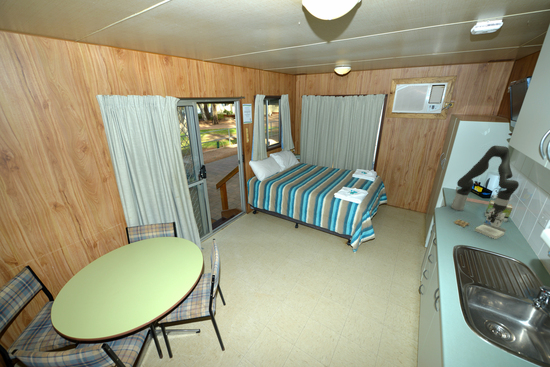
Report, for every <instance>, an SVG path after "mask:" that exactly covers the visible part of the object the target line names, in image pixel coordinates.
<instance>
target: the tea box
mask: <svg viewBox="0 0 550 367" xmlns="http://www.w3.org/2000/svg"><path fill="white" fill-rule="evenodd" d="M494 202H495V200H491V199H490V200H489V203H488V205H487V207H486V209H485V212H484V217H485V216H486V218H487V216H488V214H489V211H490V210H495V208H493V205H494ZM512 211H513V204H510V203H508V205H507V207H506V210H504V211H503V212H502V213H504V214H505V216H504V219H503V221H502V222H505V223H507V222H508V220H509V217H510V215H511V213H512Z"/></svg>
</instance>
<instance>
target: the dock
mask: <svg viewBox="0 0 550 367" xmlns="http://www.w3.org/2000/svg"><path fill="white" fill-rule="evenodd" d="M474 231H475V232H477V233H479V234H481V233H482V234H481V235H484V234H485V235H484V236H486V235H487V236H486V237H488V236H489V238H491V237H492V238H491V239H493V238H494V239H493V240H497V239H499V238H501V237H502V236H504V235H505V233H506V231H507V228H504V227H501V226H499V227H495V226H492V225H490V224H487V223H485V221H484V222H483V224H481V225H478V226H477V227H475V229H474Z"/></svg>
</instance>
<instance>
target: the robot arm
mask: <svg viewBox="0 0 550 367" xmlns="http://www.w3.org/2000/svg"><path fill="white" fill-rule="evenodd" d="M492 158H500V160H501V162H500V164H499V166H498V169H497V170H498V171H497V172H498V175H499V180H498V187H500V188H501V189H504V190H499V191H498V193H497V196H496V197H495V199H494V201H495V202H494V205H493V208H495V210H494V211H493V212H492V213H491V217H490V218H491V221H490V222H492V223H494V221H495V219H496V217H497V216H498V214H500V213H502V212H503V211H504V210H506V207H507V205H508V204H510V203H509V202H510V199H511V196H512V195H513V194H514V193H515V191H516V190H518V188H519V186H520V183H519V182H518V181H517V180H513V179H512V178H513V172H512V169H511V168H512V167H511V162H510V159H511V158H510V150H509V148H508V146H504V145H492V146H491V147H490V148H488V150H486V152H485V154H484V155H483V156H482V158H480V160H478V162H477V163H475V165H473V166H472V168H470V170H469V171H467V172H466V173H465V174H464V175H463V176H462V177H461V178H459V179H458V180H457V183H456V184H457V186H458V188H459V189H457V190H456V193H455V196H454V198H453V200H452V202H451V206H450V208H452V209H453V210H456V211H464V209H465V205H466V203H467V199H468V198H469V195H470V193H471V191H472V189H473V187H474V180H473V179H475V178H477V177H480V176H482V175H483V174H484V173H485V172H486V171H487V170H488V169H489V167H490V161H491V159H492ZM493 216H494V217H493Z"/></svg>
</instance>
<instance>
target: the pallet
mask: <svg viewBox="0 0 550 367" xmlns="http://www.w3.org/2000/svg"><path fill="white" fill-rule="evenodd" d="M453 223H454V225H455V224H456V225H458V226H460V227H462V228H465V227H466V226H469V225H470V222H467V221H465V220H462V219H459V218H458V219H457V220H454V222H453Z"/></svg>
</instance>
